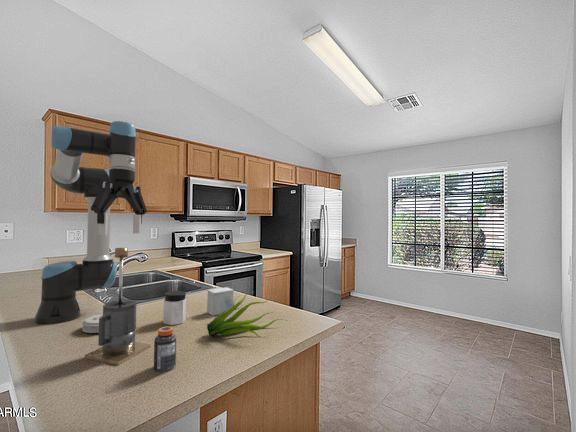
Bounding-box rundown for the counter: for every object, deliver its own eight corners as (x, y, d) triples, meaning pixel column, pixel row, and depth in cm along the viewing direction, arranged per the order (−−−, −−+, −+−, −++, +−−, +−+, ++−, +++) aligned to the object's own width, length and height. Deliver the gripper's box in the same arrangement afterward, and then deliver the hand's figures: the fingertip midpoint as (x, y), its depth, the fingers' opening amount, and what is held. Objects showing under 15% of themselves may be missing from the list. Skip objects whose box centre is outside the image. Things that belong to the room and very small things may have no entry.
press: (83, 359, 92) (84, 307, 92) (119, 341, 105) (120, 296, 105) (116, 366, 88) (118, 312, 88) (150, 347, 101) (151, 300, 101)
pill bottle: (157, 362, 91) (158, 324, 91) (178, 362, 91) (179, 324, 91) (150, 372, 85) (151, 332, 85) (172, 372, 85) (173, 332, 85)
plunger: (110, 305, 96) (112, 248, 96) (120, 302, 99) (121, 247, 99) (119, 306, 95) (121, 249, 95) (129, 303, 98) (130, 248, 98)
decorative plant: (286, 343, 107) (287, 301, 107) (203, 339, 108) (204, 298, 108) (288, 325, 125) (289, 289, 125) (217, 322, 126) (218, 287, 126)
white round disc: (115, 321, 126) (115, 309, 126) (124, 329, 117) (125, 316, 117) (78, 328, 117) (79, 315, 117) (86, 338, 108) (86, 324, 108)
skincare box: (213, 316, 134) (213, 292, 134) (206, 312, 139) (206, 289, 139) (233, 311, 141) (234, 289, 141) (226, 308, 146) (227, 286, 146)
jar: (165, 326, 120) (166, 296, 120) (161, 320, 127) (162, 292, 127) (188, 322, 125) (189, 293, 125) (183, 317, 132) (183, 289, 132)
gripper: (97, 161, 87) (95, 235, 86) (158, 175, 111) (157, 233, 110) (77, 163, 89) (76, 235, 89) (141, 175, 113) (140, 232, 112)
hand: (121, 234), depth 99 cm, fingers open, 13 cm apart
